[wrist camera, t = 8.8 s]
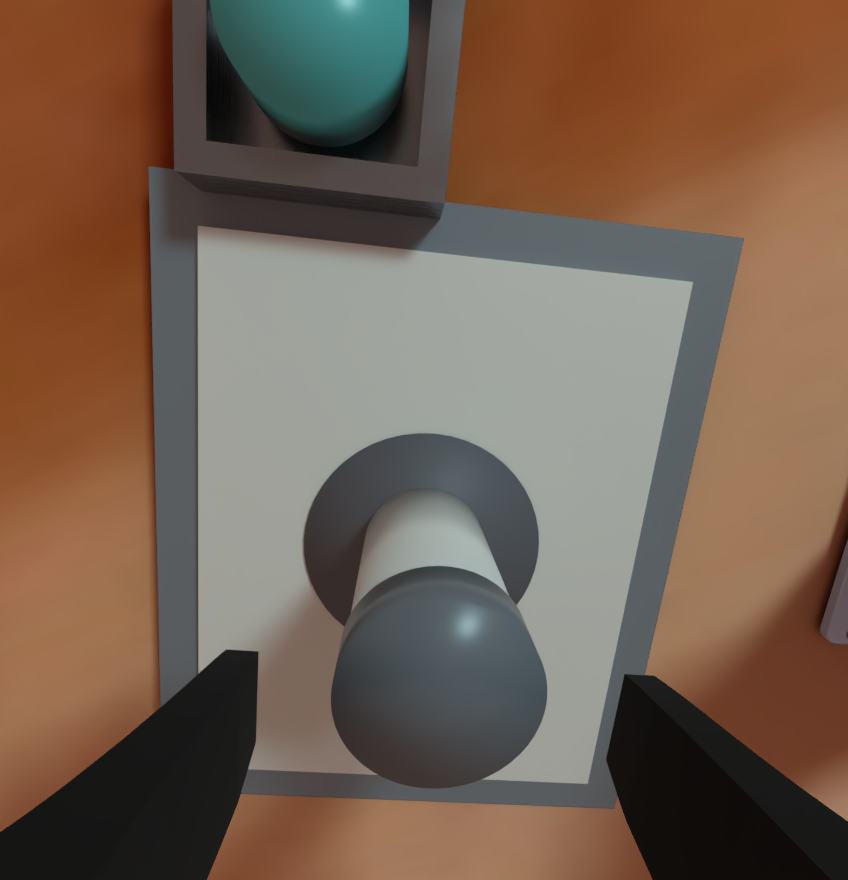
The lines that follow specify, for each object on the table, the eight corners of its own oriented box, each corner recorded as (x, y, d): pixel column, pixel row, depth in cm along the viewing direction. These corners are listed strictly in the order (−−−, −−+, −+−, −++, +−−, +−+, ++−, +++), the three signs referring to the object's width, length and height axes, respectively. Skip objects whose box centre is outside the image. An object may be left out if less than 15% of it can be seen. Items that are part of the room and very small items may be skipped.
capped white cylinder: (496, 494, 16) (569, 616, 9) (472, 606, 16) (522, 797, 10) (371, 476, 15) (345, 588, 8) (353, 591, 16) (318, 778, 9)
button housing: (463, -36, 13) (477, -119, 11) (438, 225, 15) (444, 204, 12) (214, -74, 13) (170, -169, 11) (212, 199, 14) (174, 171, 12)
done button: (415, -32, 12) (417, -103, 10) (400, 156, 13) (400, 124, 11) (241, -59, 12) (209, -137, 10) (238, 135, 13) (208, 99, 11)
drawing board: (727, 243, 15) (753, 235, 14) (605, 790, 20) (618, 818, 19) (162, 175, 14) (141, 160, 13) (172, 771, 19) (157, 800, 18)
